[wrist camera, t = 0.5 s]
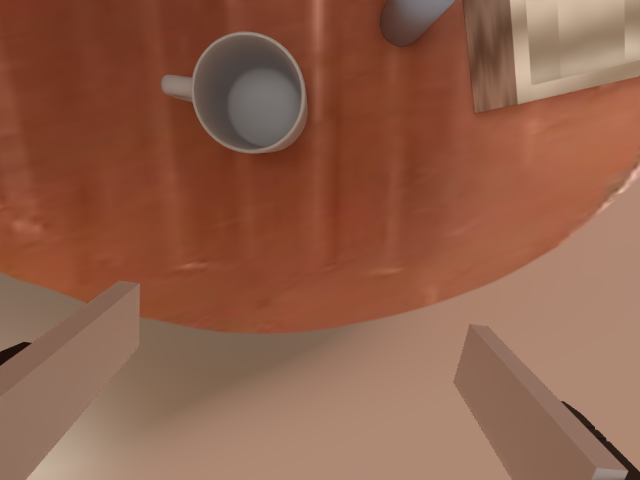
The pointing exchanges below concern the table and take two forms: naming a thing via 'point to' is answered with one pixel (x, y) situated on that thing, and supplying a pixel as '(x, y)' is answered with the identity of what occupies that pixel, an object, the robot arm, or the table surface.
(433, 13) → the peg
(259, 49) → the mug
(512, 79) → the peg box
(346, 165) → the table surface
